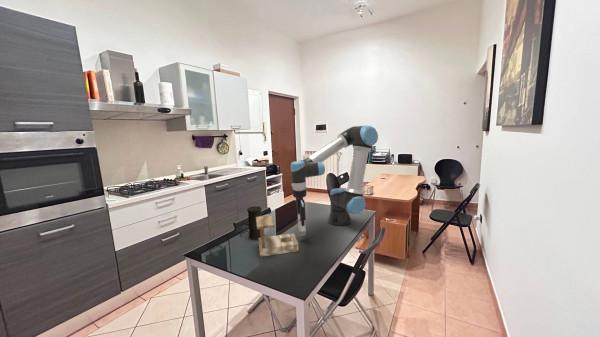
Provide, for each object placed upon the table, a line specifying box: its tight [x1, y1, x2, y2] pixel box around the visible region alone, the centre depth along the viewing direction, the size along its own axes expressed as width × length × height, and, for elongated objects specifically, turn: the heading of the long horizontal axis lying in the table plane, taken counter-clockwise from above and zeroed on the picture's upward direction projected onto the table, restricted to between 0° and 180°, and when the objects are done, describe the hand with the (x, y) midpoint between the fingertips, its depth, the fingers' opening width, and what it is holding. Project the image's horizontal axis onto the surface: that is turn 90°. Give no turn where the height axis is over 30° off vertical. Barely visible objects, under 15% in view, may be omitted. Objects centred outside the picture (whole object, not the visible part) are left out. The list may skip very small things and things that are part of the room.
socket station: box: [256, 215, 300, 258], centre depth 132 cm, size 20×15×16 cm
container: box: [247, 205, 263, 241], centre depth 147 cm, size 9×9×18 cm
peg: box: [297, 213, 307, 237], centre depth 139 cm, size 4×4×12 cm
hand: (302, 229), depth 139 cm, fingers closed on peg, 4 cm apart
